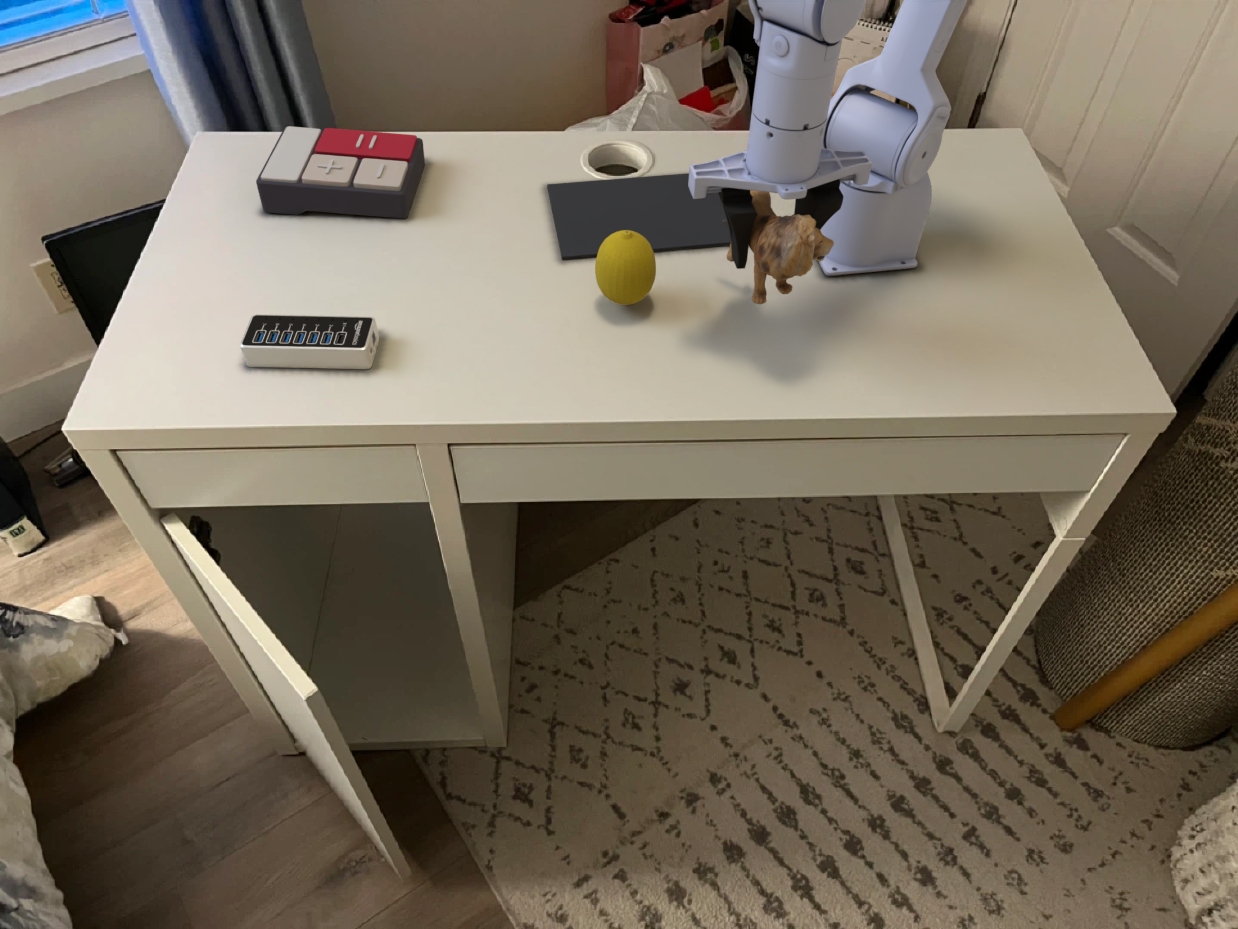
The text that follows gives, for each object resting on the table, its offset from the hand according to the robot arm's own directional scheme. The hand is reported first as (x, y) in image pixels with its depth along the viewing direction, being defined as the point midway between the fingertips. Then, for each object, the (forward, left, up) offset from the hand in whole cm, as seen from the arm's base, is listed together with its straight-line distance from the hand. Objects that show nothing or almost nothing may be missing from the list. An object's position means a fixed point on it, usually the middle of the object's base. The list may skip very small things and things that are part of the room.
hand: (766, 258), depth 81 cm
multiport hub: (+40, -2, -7) cm, 41 cm away
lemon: (+12, -5, -7) cm, 14 cm away
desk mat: (+7, -19, -7) cm, 21 cm away
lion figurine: (0, 0, -2) cm, 2 cm away
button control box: (+38, -28, -7) cm, 48 cm away
